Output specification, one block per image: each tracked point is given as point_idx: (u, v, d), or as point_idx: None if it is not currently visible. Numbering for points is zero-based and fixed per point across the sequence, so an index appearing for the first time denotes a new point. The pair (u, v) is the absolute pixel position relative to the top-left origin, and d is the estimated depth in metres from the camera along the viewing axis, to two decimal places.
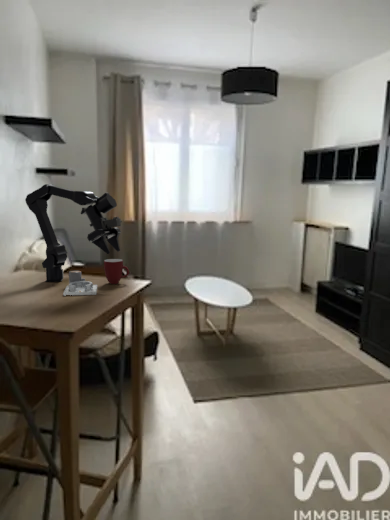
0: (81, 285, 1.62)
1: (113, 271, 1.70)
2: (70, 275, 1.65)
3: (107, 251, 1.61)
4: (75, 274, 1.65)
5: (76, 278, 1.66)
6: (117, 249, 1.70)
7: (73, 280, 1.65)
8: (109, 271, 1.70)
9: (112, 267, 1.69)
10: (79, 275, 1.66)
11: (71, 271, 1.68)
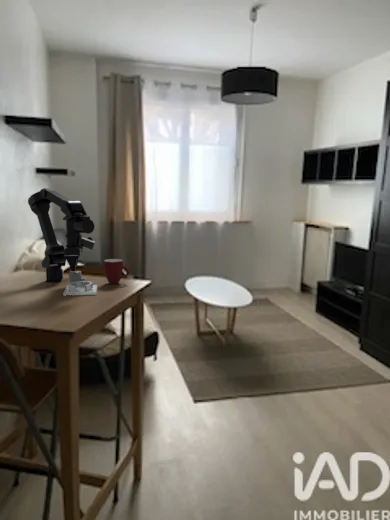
0: (81, 285, 1.62)
1: (113, 271, 1.70)
2: (70, 275, 1.65)
3: (73, 268, 1.62)
4: (75, 274, 1.65)
5: (76, 278, 1.66)
6: None
7: (73, 280, 1.65)
8: (109, 271, 1.70)
9: (112, 267, 1.69)
10: (79, 275, 1.66)
11: (71, 271, 1.68)
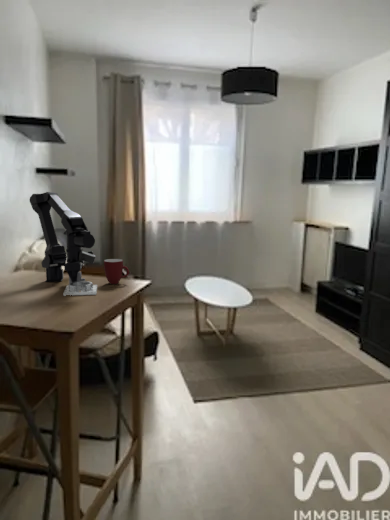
0: (81, 285, 1.62)
1: (113, 271, 1.70)
2: None
3: None
4: None
5: None
6: None
7: None
8: (109, 271, 1.70)
9: (112, 267, 1.69)
10: (79, 275, 1.66)
11: None
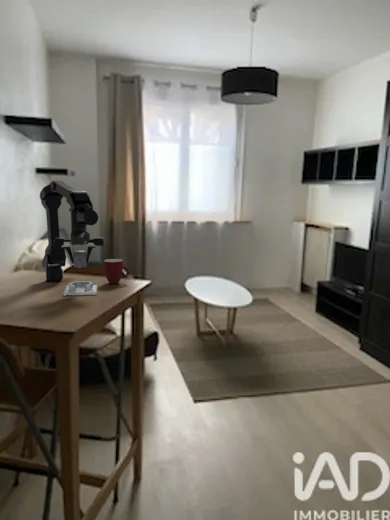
0: (81, 285, 1.62)
1: (113, 271, 1.70)
2: None
3: (72, 260, 1.57)
4: (73, 253, 1.56)
5: (73, 257, 1.56)
6: (86, 260, 1.58)
7: None
8: (109, 271, 1.70)
9: (112, 267, 1.69)
10: (75, 255, 1.55)
11: (82, 250, 1.58)
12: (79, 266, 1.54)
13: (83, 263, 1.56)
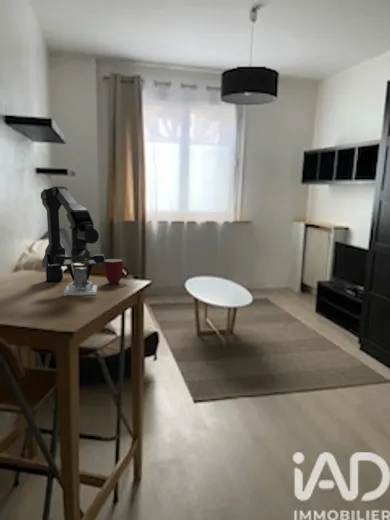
0: None
1: (113, 271, 1.70)
2: None
3: None
4: None
5: (74, 274, 1.57)
6: (87, 277, 1.59)
7: None
8: (109, 271, 1.70)
9: (112, 267, 1.69)
10: (75, 272, 1.56)
11: (83, 267, 1.59)
12: (80, 283, 1.55)
13: (83, 280, 1.57)
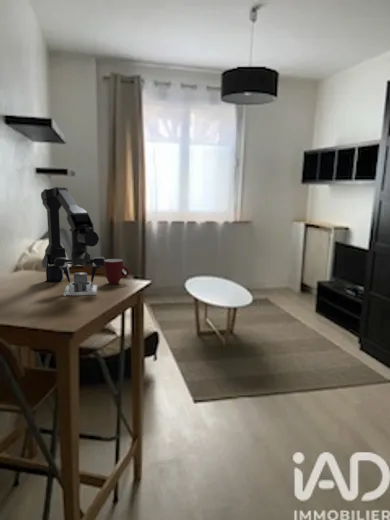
0: None
1: (113, 271, 1.70)
2: None
3: None
4: (74, 275, 1.57)
5: (74, 279, 1.57)
6: (91, 280, 1.59)
7: None
8: (109, 271, 1.70)
9: (112, 267, 1.69)
10: (76, 277, 1.56)
11: (83, 272, 1.60)
12: (80, 288, 1.55)
13: (83, 286, 1.57)
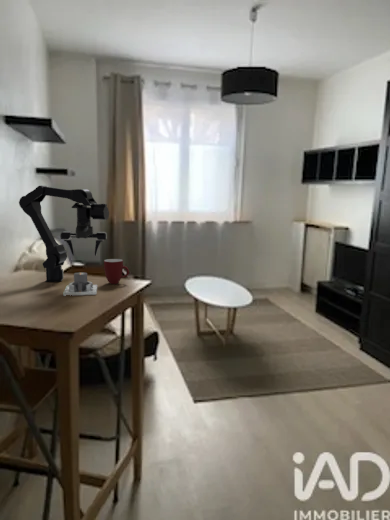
0: None
1: (113, 271, 1.70)
2: None
3: None
4: (74, 275, 1.57)
5: (74, 279, 1.57)
6: None
7: None
8: (109, 271, 1.70)
9: (112, 267, 1.69)
10: (76, 277, 1.56)
11: (83, 272, 1.60)
12: (80, 288, 1.55)
13: (83, 286, 1.57)
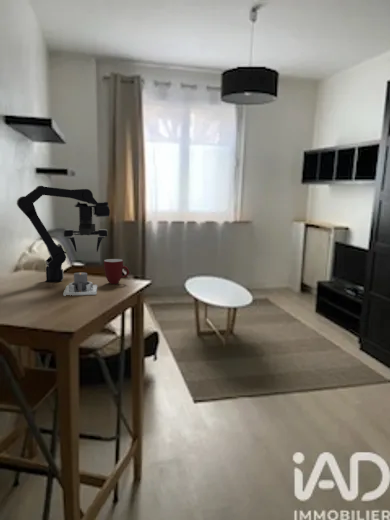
0: None
1: (113, 271, 1.70)
2: None
3: (75, 249, 1.81)
4: (74, 275, 1.57)
5: (74, 279, 1.57)
6: None
7: None
8: (109, 271, 1.70)
9: (112, 267, 1.69)
10: (76, 277, 1.56)
11: (83, 272, 1.60)
12: (80, 288, 1.55)
13: (83, 286, 1.57)
